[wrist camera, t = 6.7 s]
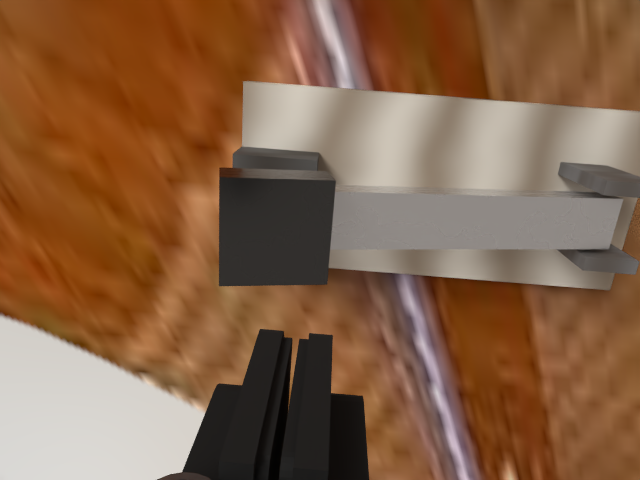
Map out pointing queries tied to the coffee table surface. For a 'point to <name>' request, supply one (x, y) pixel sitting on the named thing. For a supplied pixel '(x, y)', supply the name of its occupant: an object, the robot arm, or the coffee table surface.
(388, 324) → the coffee table surface
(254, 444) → the robot arm
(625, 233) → the base
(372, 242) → the lever
